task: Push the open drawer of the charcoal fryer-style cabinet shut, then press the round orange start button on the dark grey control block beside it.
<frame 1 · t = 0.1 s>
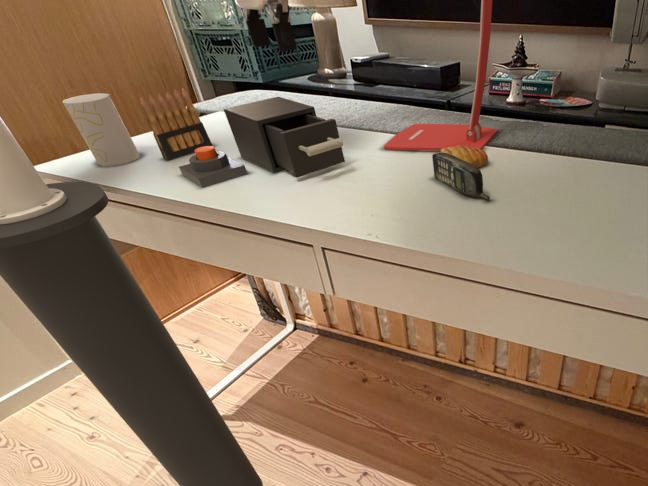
hand: (275, 48, 84), 20 cm above the table, tool pointing down, fingers open, 9 cm apart
white patterned cylinder: (119, 160, 101), on the table
drawer: (303, 143, 89), point 5 cm above the table, slide at 7.0 cm
start button: (206, 153, 89), point 4 cm above the table, slide at 0.2 cm
cabinet: (283, 157, 98), on the table
ammunition clip: (189, 153, 103), on the table
pastry: (461, 167, 90), on the table
mobile phone: (460, 190, 82), on the table
control block: (215, 174, 92), on the table
desk lamp: (431, 139, 104), on the table
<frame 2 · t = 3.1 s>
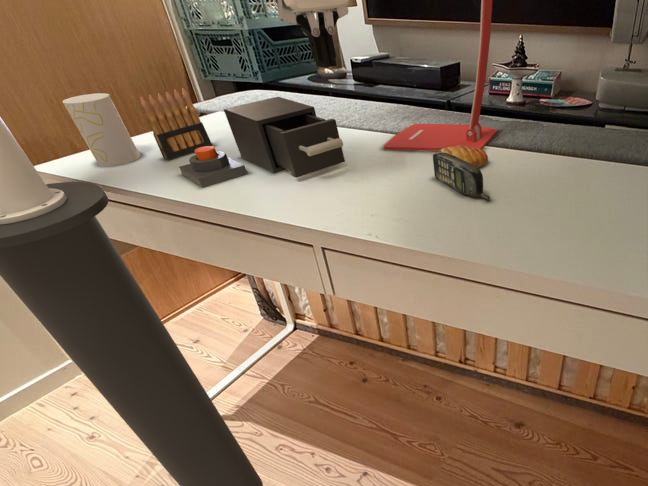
hand: (326, 65, 71), 19 cm above the table, tool pointing down, fingers closed
nothing on the table moved.
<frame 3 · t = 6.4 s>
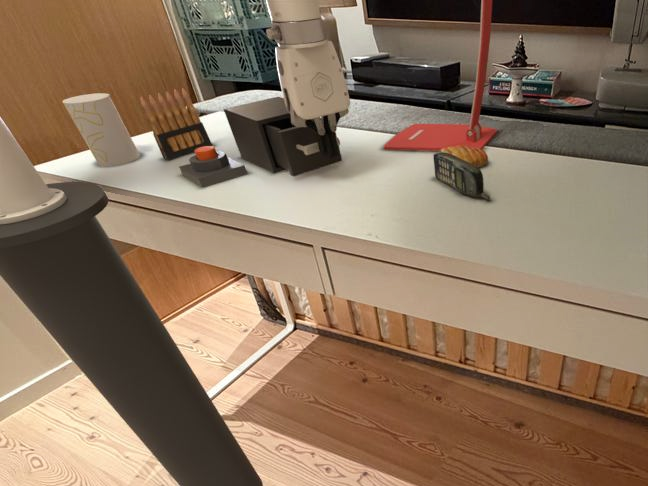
hand: (330, 155, 84), 5 cm above the table, tool pointing down, fingers closed
drawer: (300, 142, 89), point 5 cm above the table, slide at 6.0 cm, touching gripper
everything else where it was.
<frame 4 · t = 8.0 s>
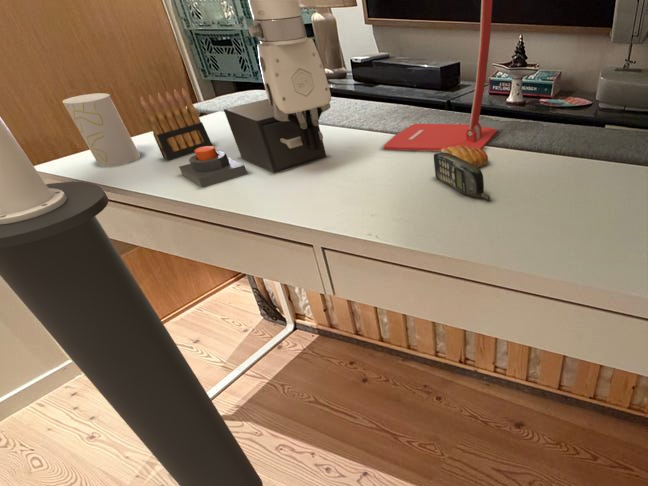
hand: (313, 148, 87), 5 cm above the table, tool pointing down, fingers closed
drawer: (285, 137, 93), point 5 cm above the table, slide at 0.0 cm, touching cabinet, gripper
everything else where it was.
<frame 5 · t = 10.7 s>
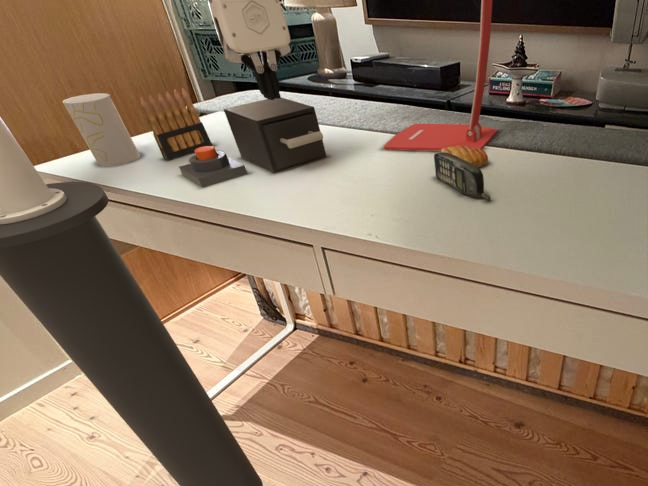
hand: (272, 97, 79), 14 cm above the table, tool pointing down, fingers closed
drawer: (285, 137, 93), point 5 cm above the table, slide at 0.0 cm, touching cabinet
everything else where it was.
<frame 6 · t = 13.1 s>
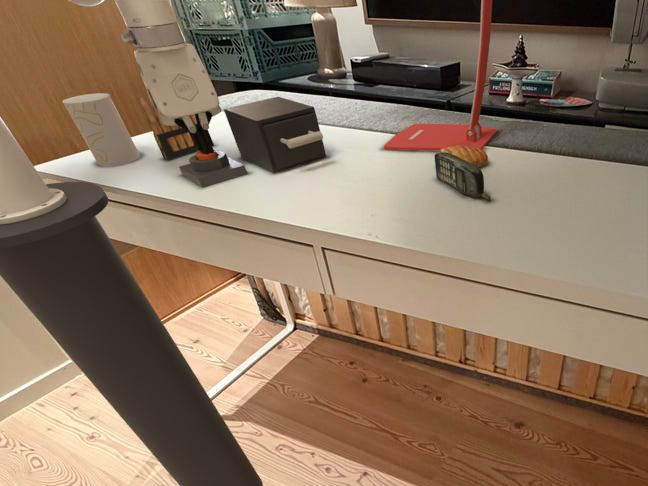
hand: (207, 151, 89), 4 cm above the table, tool pointing down, fingers closed
start button: (207, 157, 89), point 3 cm above the table, slide at -0.5 cm, touching gripper
everything else where it was.
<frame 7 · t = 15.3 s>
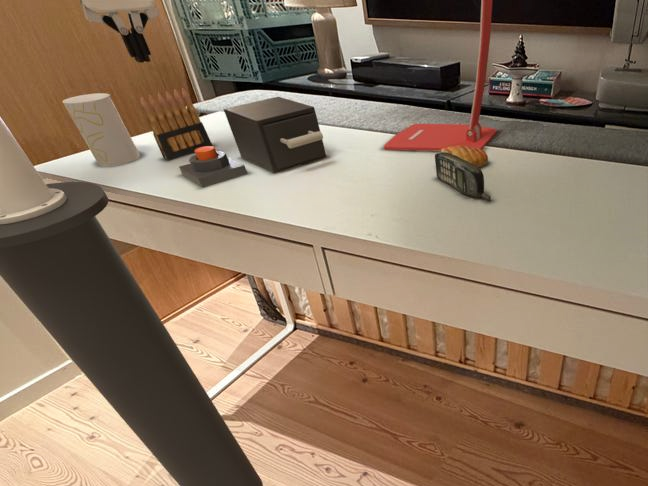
hand: (143, 61, 81), 19 cm above the table, tool pointing down, fingers closed
start button: (206, 153, 89), point 4 cm above the table, slide at 0.1 cm
everything else where it was.
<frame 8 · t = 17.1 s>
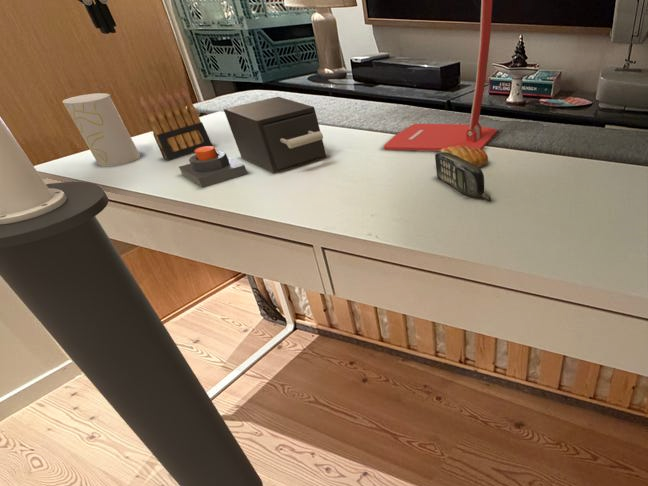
hand: (108, 32, 81), 23 cm above the table, tool pointing down, fingers closed
nothing on the table moved.
at the end: drawer slide at 0.0 cm; start button pushed in 1.1 cm at the most during the clip, back to where it started at the end; start button slide at 0.1 cm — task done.
